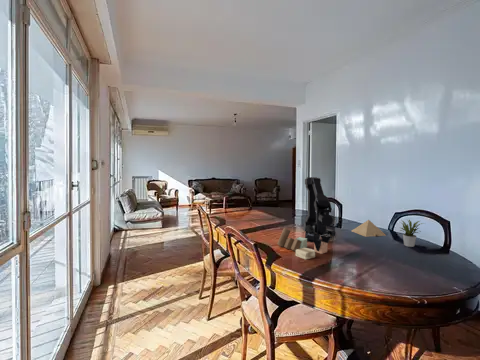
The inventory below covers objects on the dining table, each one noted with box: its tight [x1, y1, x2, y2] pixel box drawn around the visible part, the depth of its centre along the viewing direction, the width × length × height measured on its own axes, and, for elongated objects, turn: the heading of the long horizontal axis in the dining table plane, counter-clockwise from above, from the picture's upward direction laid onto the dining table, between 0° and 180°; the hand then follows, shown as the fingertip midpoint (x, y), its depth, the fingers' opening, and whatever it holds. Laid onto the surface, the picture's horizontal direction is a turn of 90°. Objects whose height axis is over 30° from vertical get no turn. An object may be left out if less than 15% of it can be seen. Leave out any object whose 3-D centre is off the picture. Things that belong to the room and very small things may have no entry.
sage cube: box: [295, 236, 308, 249], centre depth 165 cm, size 5×5×5 cm
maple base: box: [295, 247, 316, 260], centre depth 148 cm, size 7×7×4 cm
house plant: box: [399, 219, 426, 248], centre depth 169 cm, size 14×14×16 cm
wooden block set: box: [276, 227, 302, 252], centre depth 164 cm, size 18×9×10 cm, turn 19°
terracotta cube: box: [313, 242, 329, 255], centre depth 156 cm, size 5×5×5 cm
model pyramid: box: [351, 219, 387, 238], centre depth 199 cm, size 17×17×10 cm
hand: (320, 249), depth 156 cm, fingers closed on terracotta cube, 5 cm apart
